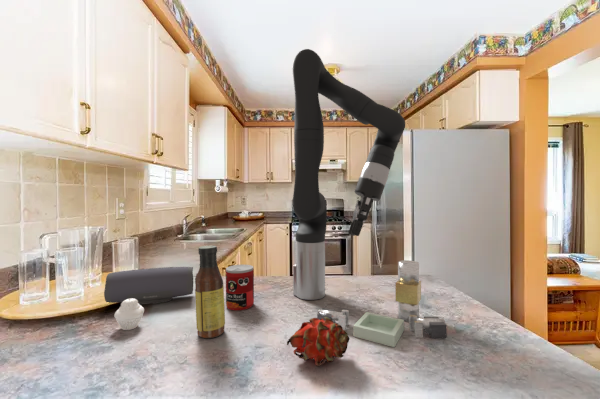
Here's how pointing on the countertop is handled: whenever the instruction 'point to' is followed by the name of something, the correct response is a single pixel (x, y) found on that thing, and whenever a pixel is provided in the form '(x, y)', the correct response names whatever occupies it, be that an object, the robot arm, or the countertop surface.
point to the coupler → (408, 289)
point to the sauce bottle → (209, 295)
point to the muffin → (129, 314)
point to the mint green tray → (379, 329)
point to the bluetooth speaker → (149, 284)
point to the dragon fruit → (320, 340)
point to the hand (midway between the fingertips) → (352, 234)
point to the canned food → (239, 287)
